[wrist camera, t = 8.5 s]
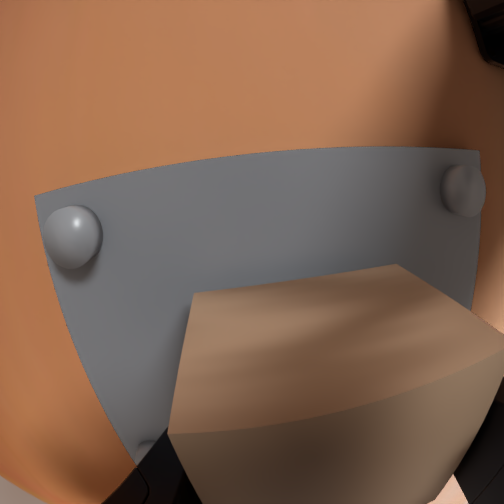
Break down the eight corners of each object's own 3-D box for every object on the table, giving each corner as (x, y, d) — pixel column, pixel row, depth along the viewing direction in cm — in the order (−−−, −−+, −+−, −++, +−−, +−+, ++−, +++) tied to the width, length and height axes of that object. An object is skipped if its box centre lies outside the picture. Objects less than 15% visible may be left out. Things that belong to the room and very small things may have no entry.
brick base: (396, 263, 9) (515, 342, 4) (378, 406, 10) (434, 499, 5) (193, 292, 8) (167, 433, 3) (226, 436, 10) (233, 553, 5)
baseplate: (469, 150, 9) (493, 150, 8) (437, 404, 13) (449, 419, 12) (43, 194, 9) (20, 198, 7) (140, 459, 12) (135, 480, 11)
